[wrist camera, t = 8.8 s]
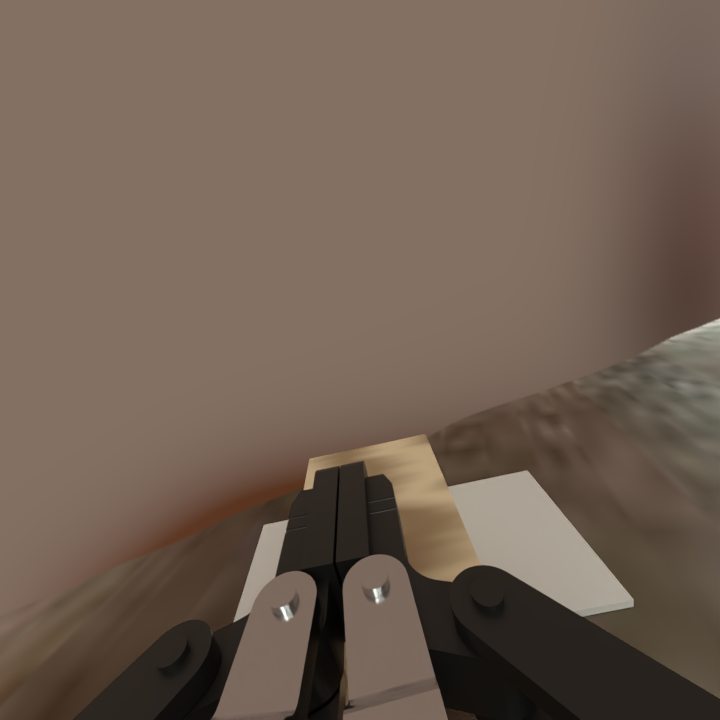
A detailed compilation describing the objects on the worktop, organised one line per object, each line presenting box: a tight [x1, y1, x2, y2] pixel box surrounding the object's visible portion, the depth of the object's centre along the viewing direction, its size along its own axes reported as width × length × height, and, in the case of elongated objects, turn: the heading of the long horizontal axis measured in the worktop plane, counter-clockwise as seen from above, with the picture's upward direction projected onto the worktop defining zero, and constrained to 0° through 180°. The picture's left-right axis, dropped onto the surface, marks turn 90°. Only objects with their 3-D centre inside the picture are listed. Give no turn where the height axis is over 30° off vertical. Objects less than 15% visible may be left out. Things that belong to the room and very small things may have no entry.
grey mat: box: [234, 471, 634, 622], centre depth 19 cm, size 18×9×1 cm, turn 92°
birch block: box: [304, 434, 481, 706], centre depth 18 cm, size 8×4×12 cm
